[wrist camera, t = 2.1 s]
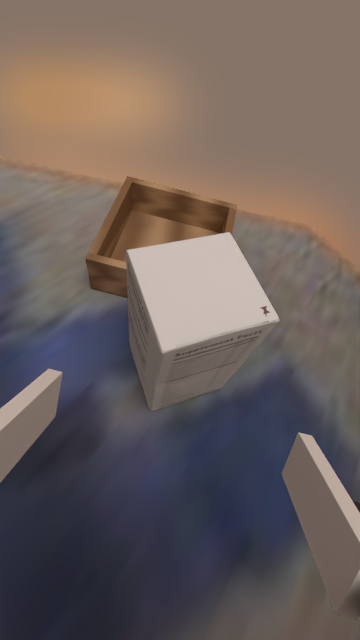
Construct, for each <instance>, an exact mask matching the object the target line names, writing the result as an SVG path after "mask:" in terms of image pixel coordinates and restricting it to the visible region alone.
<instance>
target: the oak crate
mask: <svg viewBox="0 0 360 640" xmlns="http://www.w3.org/2000/svg"><path fill="white" fill-rule="evenodd" d="M236 208H237V205H235V204H231V203H227V202H223V201H219V200H216V199H212V198H208V197H204V196H201V195H197V194H193V193H189V192H185V191H181V190H178V189H174V188H170V187H166V186H163V185H159V184H155V183H151V182H147V181H144V180H139V179H136V178H132V177H128V176H127V178H126V180H125V182H124V184H123V186H122V188H121V190H120V192H119V194H118V196H117V198H116V200H115V202H114V204H113V206H112V208H111V210H110V211H109V213H108V215H107V217H106V219H105V221H104V223H103V225H102V227H101V229H100V231H99V233H98V235H97V237H96V239H95V241H94V243H93V245H92V247H91V249H90V251H89V253H88V255H87V257H86V264H87V269H88V274H89V279H90V284H91V289H95V290H99V291H103V292H107V293H111V294H115V295H119V296H122V297H126V298H128V293H127V267H126V250H130V249H136V248H142V247H148V246H154V245H159V244H165V243H170V242H176V241H182V240H188V239H193V238H199V237H205V236H210V235H216V234H221V233H227V232H230V233H231V235H232V231H233V225H234V219H235V213H236Z"/></svg>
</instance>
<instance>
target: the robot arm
mask: <svg viewBox="0 0 360 640" xmlns="http://www.w3.org/2000/svg"><path fill="white" fill-rule="evenodd" d="M62 373H63V372H60V371H56V370H52V369H48V370H47V371H45V372H44V373H43V374H42V375H41V376H39V377H38V378H37V379H36V380H35V381H33V382H32V383H31V384H30V385H29V386H27V387H26V388H25V389H24V390H23V391H21V392H20V393H19V394H18V395H16V396H15V397H14V398H13V399H12V400H10V401H9V402H8V403H7V404H6V405H4V406H3V407H2V408H1V409H0V483H1V481H2V480H3V479H4V478H5V477H6V475H7V474H8V473H9V472H10V471H11V469H12V468H13V467H14V466H15V465H16V463H17V462H18V461H19V460H20V458H21V457H22V456H23V455H24V454H25V452H26V451H27V450H28V449H29V448H30V446H31V445H32V444H33V443H34V442H35V440H36V439H37V438H38V437H39V436H40V434H41V433H42V432H43V431H44V430H45V428H46V427H47V426H48V425H49V423H50V422H51V421H52V420H53V419H54V417H55V415H56V409H57V403H58V397H59V391H60V385H61V379H62ZM282 476H283V479H284V481H285V484H286V486H287V489H288V492H289V494H290V497H291V500H292V502H293V505H294V507H295V510H296V513H297V515H298V518H299V521H300V523H301V526H302V528H303V531H304V534H305V536H306V539H307V541H308V544H309V547H310V549H311V552H312V555H313V557H314V560H315V562H316V565H317V568H318V570H319V573H320V575H321V578H322V581H323V583H324V586H325V589H326V591H327V594H328V596H329V599H330V602H331V604H332V607H333V609H334V612H335V615H338V616H342V617H346V618H350V619H354V620H357V619H358V617H359V615H360V503H358V502H354V501H352V500H351V498H350V496H349V495H348V493H347V492H346V490H345V488H344V487H343V485H342V483H341V482H340V480H339V479H338V477H337V475H336V474H335V472H334V471H333V469H332V467H331V466H330V464H329V463H328V461H327V459H326V458H325V456H324V454H323V453H322V451H321V450H320V448H319V446H318V445H317V443H316V442H315V440H314V438H313V437H312V436H311V435H307V434H303V433H299V432H298V434H297V437H296V439H295V442H294V444H293V447H292V449H291V452H290V454H289V457H288V459H287V462H286V464H285V467H284V469H283V472H282Z"/></svg>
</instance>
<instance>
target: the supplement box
mask: <svg viewBox="0 0 360 640" xmlns="http://www.w3.org/2000/svg"><path fill="white" fill-rule="evenodd" d="M126 267H127V293H128V317H129V344H130V348H131V352H132V355H133V359H134V362H135V365H136V369H137V372H138V375H139V378H140V382H141V385H142V388H143V391H144V395H145V398H146V401H147V405H148V408H149V410H150V411H155V410H158V409H161V408H164V407H167V406H170V405H173V404H176V403H179V402H182V401H185V400H188V399H191V398H194V397H197V396H200V395H203V394H206V393H209V392H212V391H215V390H218V389H220V388H222V387H223V386H224V385H225V384H226V383H227V381H228V380H229V379H230V378H231V377H232V376H233V374H234V373H235V372H236V371H237V370H238V369H239V367H240V366H241V365H242V364H243V363H244V362H245V360H246V359H247V358H248V357H249V356H250V355H251V353H252V352H253V351H254V350H255V349H256V348H257V347H258V345H259V344H260V343H261V342H262V341H263V339H264V338H265V337H266V336H267V335H268V334H269V333H270V331H271V330H272V329H273V328H274V327H275V326H276V324H277V323H278V322H279V318H278V316H277V314H276V312H275V310H274V308H273V307H272V305H271V303H270V301H269V300H268V298H267V296H266V294H265V293H264V291H263V289H262V287H261V286H260V284H259V282H258V280H257V279H256V277H255V275H254V273H253V272H252V270H251V268H250V266H249V265H248V263H247V261H246V259H245V258H244V256H243V254H242V252H241V251H240V249H239V247H238V245H237V243H236V242H235V240H234V238H233V237H232V235H231V233H230V232H227V233H221V234H216V235H210V236H205V237H199V238H193V239H188V240H182V241H176V242H170V243H165V244H159V245H154V246H148V247H142V248H136V249H130V250H126Z"/></svg>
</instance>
